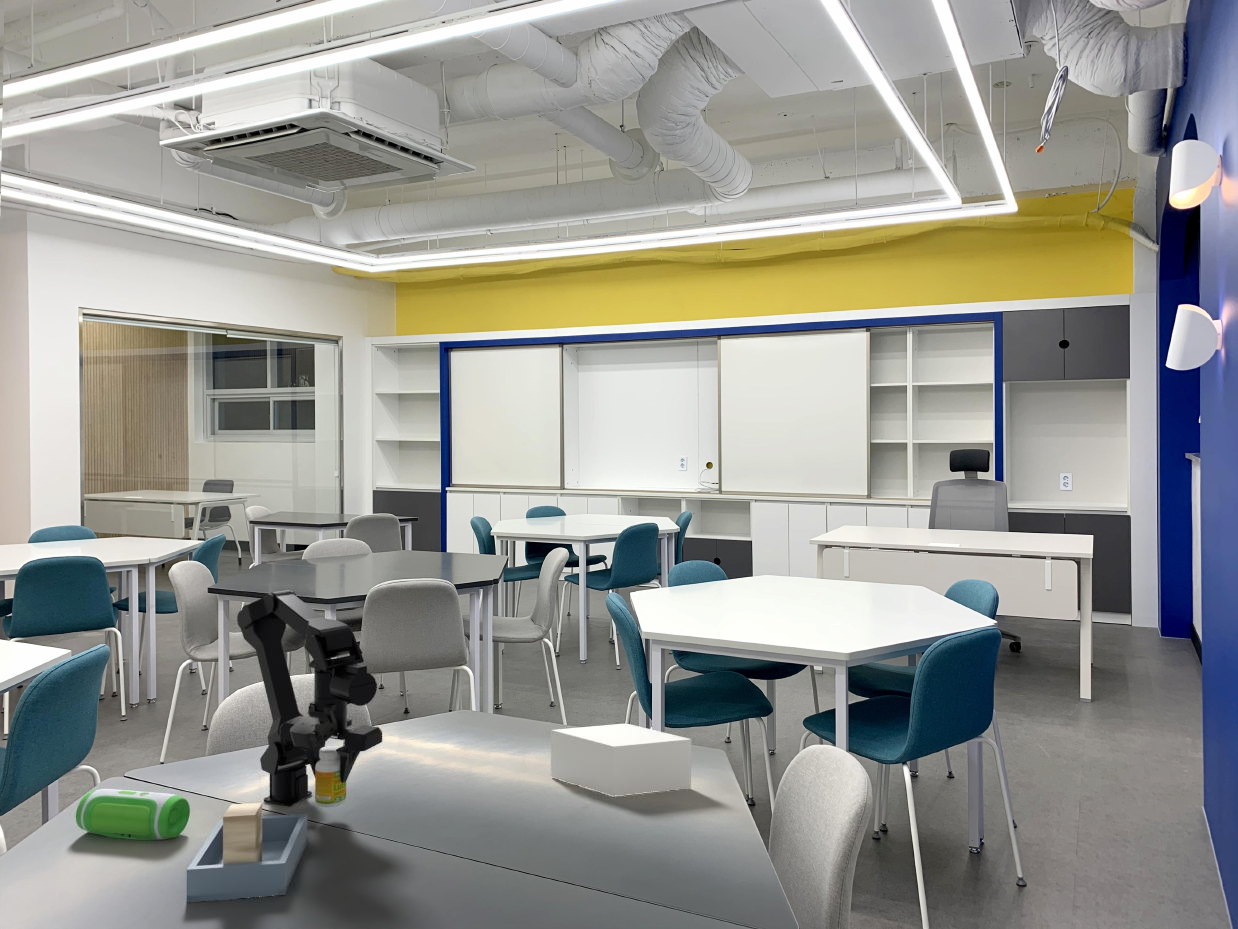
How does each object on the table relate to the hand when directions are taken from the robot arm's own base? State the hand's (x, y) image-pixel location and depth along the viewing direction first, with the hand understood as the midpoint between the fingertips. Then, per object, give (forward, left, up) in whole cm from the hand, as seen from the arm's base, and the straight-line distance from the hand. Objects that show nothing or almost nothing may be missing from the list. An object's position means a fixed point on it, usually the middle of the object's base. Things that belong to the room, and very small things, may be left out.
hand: (330, 779), depth 159 cm
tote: (0, -20, -8) cm, 21 cm away
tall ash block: (+3, -24, -6) cm, 25 cm away
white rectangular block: (+43, +36, -8) cm, 57 cm away
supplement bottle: (0, 0, -4) cm, 4 cm away
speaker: (-28, -17, -8) cm, 34 cm away
